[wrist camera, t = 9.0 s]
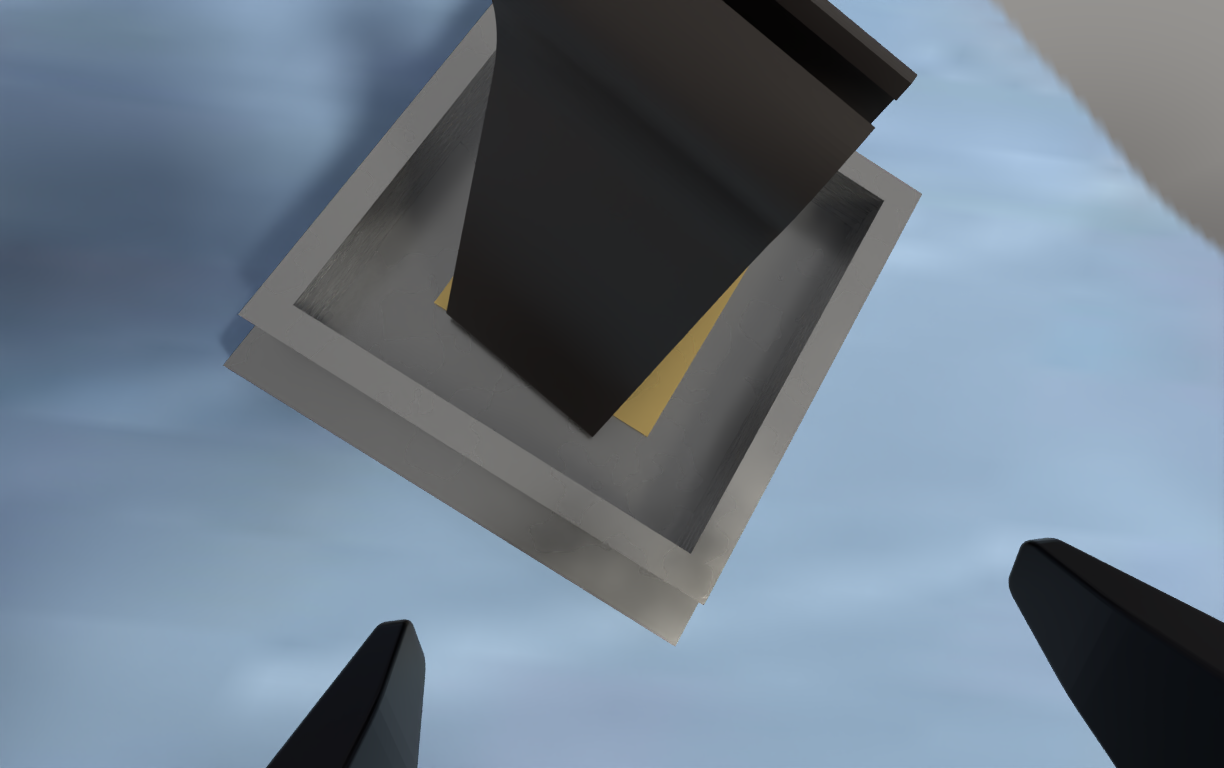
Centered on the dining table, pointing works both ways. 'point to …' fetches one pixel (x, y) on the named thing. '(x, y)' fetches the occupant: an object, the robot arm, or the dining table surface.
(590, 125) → the phone stand
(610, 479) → the square tray
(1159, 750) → the robot arm
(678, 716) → the dining table surface
